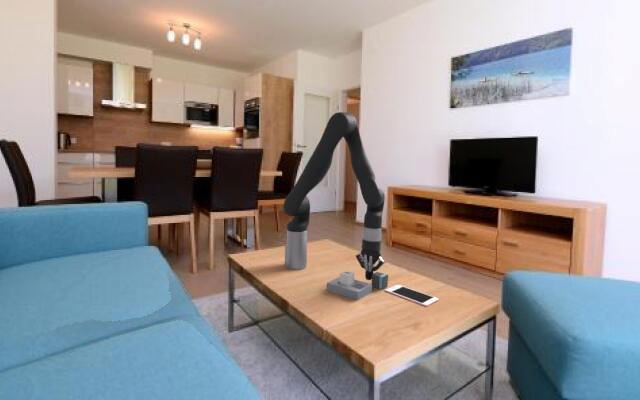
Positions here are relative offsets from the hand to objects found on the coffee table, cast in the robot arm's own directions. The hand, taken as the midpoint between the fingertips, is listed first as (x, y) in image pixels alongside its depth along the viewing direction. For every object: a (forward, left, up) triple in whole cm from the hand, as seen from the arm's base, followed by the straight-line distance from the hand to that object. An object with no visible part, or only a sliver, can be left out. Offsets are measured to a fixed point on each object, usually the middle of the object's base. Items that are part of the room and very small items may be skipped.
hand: (368, 279), depth 140 cm
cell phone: (+18, 0, -2) cm, 18 cm away
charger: (-3, -12, -2) cm, 13 cm away
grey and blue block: (+5, 0, -2) cm, 5 cm away
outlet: (-2, -12, -2) cm, 12 cm away
